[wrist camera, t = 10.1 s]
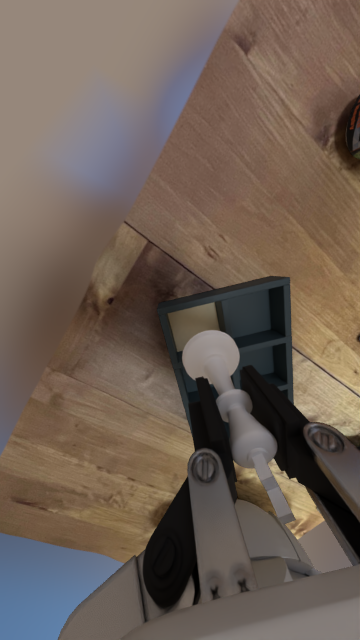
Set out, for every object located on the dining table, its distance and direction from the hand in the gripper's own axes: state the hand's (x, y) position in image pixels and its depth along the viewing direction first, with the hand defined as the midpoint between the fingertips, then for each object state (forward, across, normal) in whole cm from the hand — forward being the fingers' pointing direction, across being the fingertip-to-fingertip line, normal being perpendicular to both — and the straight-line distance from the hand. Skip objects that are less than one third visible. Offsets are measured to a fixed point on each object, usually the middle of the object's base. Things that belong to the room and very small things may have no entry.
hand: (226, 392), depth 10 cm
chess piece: (+5, 0, 0) cm, 5 cm away
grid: (+14, -4, +7) cm, 16 cm away
